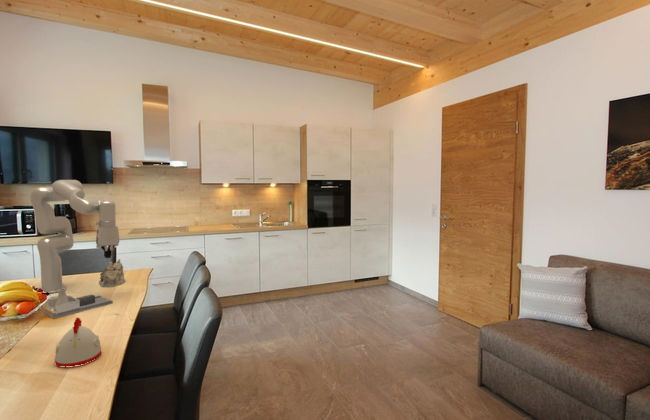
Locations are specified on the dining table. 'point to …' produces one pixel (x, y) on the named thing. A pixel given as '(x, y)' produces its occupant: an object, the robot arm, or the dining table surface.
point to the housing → (71, 303)
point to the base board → (98, 302)
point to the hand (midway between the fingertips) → (107, 257)
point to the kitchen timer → (77, 346)
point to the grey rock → (112, 275)
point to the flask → (61, 298)
